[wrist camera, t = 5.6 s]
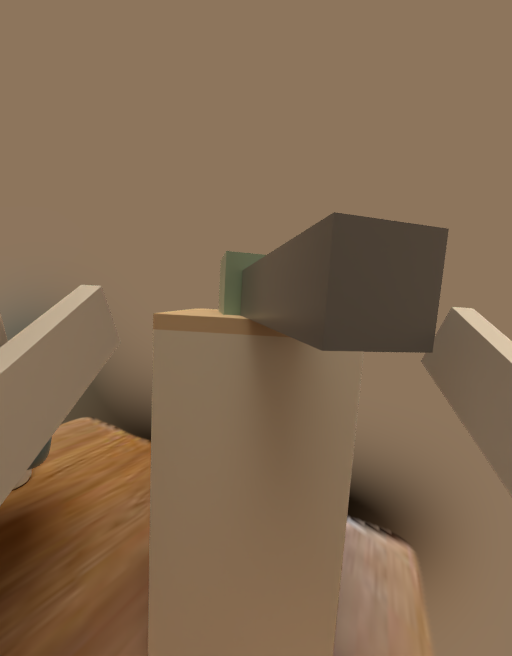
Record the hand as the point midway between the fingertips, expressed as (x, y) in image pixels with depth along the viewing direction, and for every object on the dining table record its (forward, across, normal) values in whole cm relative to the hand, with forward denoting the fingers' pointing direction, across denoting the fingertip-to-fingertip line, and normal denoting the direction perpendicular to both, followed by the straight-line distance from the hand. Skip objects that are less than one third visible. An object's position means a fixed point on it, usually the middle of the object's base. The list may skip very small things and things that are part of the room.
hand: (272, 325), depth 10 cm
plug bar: (+7, +1, -5) cm, 9 cm away
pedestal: (-1, 0, -34) cm, 34 cm away
